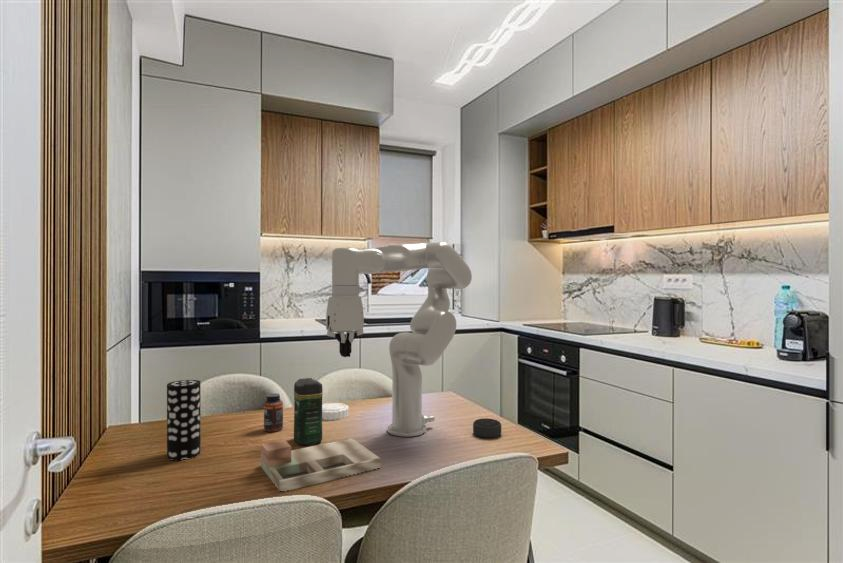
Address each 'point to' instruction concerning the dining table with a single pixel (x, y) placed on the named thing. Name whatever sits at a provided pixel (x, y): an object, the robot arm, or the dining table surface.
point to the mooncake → (334, 411)
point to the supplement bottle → (273, 413)
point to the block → (275, 453)
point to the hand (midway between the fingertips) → (345, 356)
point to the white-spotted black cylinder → (183, 419)
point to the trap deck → (322, 464)
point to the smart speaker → (487, 428)
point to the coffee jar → (307, 411)
